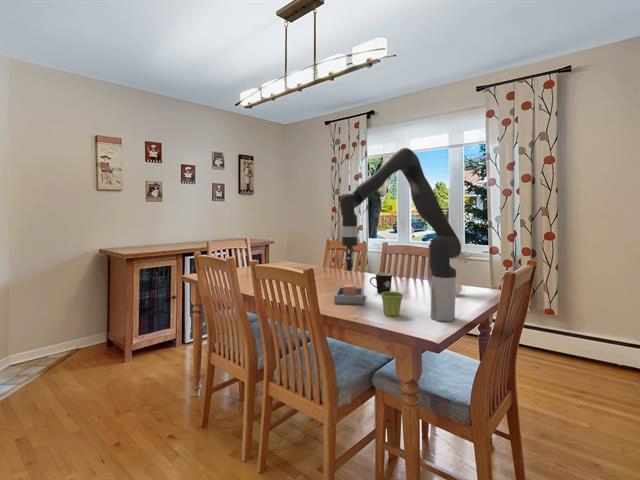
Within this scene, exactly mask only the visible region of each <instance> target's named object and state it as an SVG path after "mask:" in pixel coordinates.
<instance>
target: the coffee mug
mask: <svg viewBox="0 0 640 480" xmlns="http://www.w3.org/2000/svg"><path fill="white" fill-rule="evenodd" d="M373 279H375V283H376V285H374V284H373V283H372V280H373ZM392 279H393V274H392V273H390V272H376V273H375V276H373V277H371V278H370V279H369V283H370V285H372V287H375V288H376V291H377V292H376V293H377V294H379V295H380V293H382V292H391V288H392V287H391V285H392Z"/></svg>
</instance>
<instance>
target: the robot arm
mask: <svg viewBox="0 0 640 480" xmlns="http://www.w3.org/2000/svg"><path fill="white" fill-rule="evenodd" d="M398 171H401V173H402V174H403V175H404V177H405V178H406V180H407V183H408V184H409V185H408V186H409V189H410V196H411V199H412V203H413V205H414V206H415V209H416V212H417V213H418V215H419V216H420V218H422V219H423V220H424V221H425V222H426V223H427V224H428V226H430V227H431V228H432V229H433V231H434V232H435V234H436V236H434V237H433V238H432V239H431V240H430V242H429V243H430V244H429V249H428V250H429V253H428V254H429V268H430V271H431V284H430V286H431V287H430V288H431V289H430V318H431V319H432V320H435V321H436V322H453V321H455V319H456V317H455V316H456V296H455V294H456V279H457V269H456V270H455V269H454V268H452V267H451V266H450V258H455V257H457V256H458V255H459V254H460V252H461V251H462V244H461V241H460V240H459V237H458V235H457V234H456V232H455V230H454V229H453V228H452V226H451V224H450V222H449V221H448V219H447V217H446V214H445V212H444V211H443V209H442V207H441V204H440V203H439V202H440V201H439V200H438V198H437V196H436V194H435V192H434V190H433V188H432V186H431V185H430V182H429V181H428V180H427V178H426V177H425V174H424V171H423V169H422V165H421V162H420V160H419V157H418V156H417V154H416V153H415V152H414V151H413V150H411V148H408V147H404V148H401V149H399V150H397V151H396V152H395V153H394V154H393V155H392V156H391V157H390V158H389V159H388V160H387V161H386V162H385V163H384V164H383V165H382V166H380V167H379V169H378V170H377V171H376V172H374V173H373V174H372V175H370V177H368V178H367V179H366V180H364V181H362V182H361V183H360V184H359V185H358V186H357V187H356V189H355V190H354V191H352V192H351V193H344V194H343V195H342V196H341V198H340V199H339V200H340V201H339V207H340V211H341V216H342V221H341V222H342V224H341V226H342V227H341V246H343V247H346V249H345V262H346V271H347V272H349V271H350V272H351V271H352V269H353V265H354V263H353V261H354V257H355V249H354V247H357V246H358V245H359V244H358V242H359V241H358V240H359V237H358V235H359V234H358V233H359V232H358V230H359V229H358V217H357V216H358V215H357V214H356V212H355V208H358V207H359V206H360V205H361V204H362V203H364V201H365V200H366V199H368V198H370V196H372V195H374V194H375V193H376V192H378V191H379V190H380V189H381V188H382V186H383V185H384V183H386V181H387V180H388V179H389V178H390V177H391V176H392V175H393V174H395V173H397V172H398Z"/></svg>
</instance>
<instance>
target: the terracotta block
mask: <svg viewBox="0 0 640 480" xmlns="http://www.w3.org/2000/svg"><path fill="white" fill-rule="evenodd" d="M343 287H344V296H356V288H357V285H356V284H350V283H349V284H348V283H347V284H344V285H343Z"/></svg>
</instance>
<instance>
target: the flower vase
mask: <svg viewBox="0 0 640 480" xmlns="http://www.w3.org/2000/svg"><path fill="white" fill-rule="evenodd" d="M467 251H468V250H467V248H464V249H463V251H462V250H461V252H460V254H459V255H458V256H457V257H455V258H450V266H451V267H452V268H454V269H455V270H456V271H457V262H459V263H461V262H464V263H465V264H467V263H468V259H467V258H470V257H471V256H472V255H471V253H467ZM462 291H463V287H462V285H461V284H460V283H459V281H458V280H457V278H456V294H455V297H458V296H459V294H460V293H461V292H462Z"/></svg>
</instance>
